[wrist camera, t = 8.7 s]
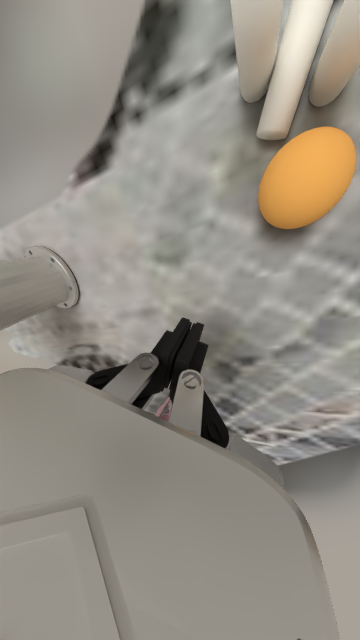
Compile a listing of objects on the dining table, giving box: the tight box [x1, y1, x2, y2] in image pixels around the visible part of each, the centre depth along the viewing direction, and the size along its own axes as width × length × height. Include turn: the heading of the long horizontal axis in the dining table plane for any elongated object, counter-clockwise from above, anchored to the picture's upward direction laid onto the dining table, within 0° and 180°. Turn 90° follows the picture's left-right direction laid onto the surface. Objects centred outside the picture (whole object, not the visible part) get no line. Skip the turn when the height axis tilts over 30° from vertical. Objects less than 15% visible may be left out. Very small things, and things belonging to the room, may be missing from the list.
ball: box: [258, 127, 356, 229], centre depth 13 cm, size 6×6×6 cm
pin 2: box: [308, 0, 360, 107], centre depth 8 cm, size 2×2×8 cm
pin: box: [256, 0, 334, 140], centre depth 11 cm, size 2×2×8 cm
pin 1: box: [231, 0, 283, 103], centre depth 10 cm, size 2×2×8 cm
